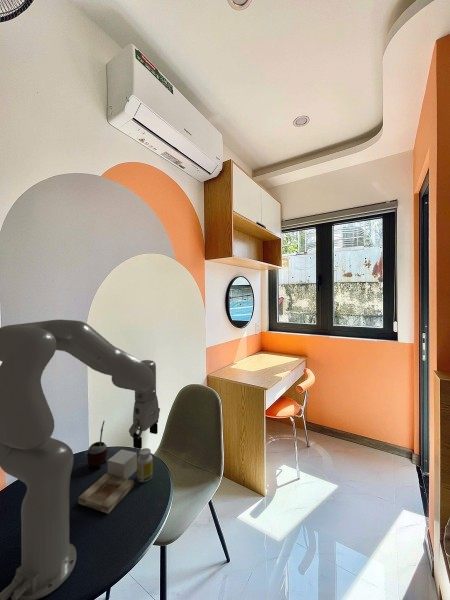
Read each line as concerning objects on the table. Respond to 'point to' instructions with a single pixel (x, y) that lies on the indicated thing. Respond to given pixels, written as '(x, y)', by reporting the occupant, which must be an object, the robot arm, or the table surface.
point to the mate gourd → (97, 453)
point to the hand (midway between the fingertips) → (146, 440)
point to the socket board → (106, 492)
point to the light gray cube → (123, 464)
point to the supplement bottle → (144, 465)
